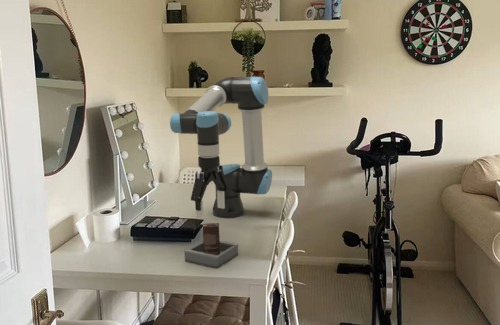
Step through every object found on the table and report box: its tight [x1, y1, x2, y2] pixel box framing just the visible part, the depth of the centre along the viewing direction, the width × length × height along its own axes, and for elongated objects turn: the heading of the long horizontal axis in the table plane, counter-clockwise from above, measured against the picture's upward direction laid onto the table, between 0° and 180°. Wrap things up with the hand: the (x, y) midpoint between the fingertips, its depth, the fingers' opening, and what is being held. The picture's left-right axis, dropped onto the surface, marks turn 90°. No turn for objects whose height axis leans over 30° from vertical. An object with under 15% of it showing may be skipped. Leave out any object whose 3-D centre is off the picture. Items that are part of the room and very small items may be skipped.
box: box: [202, 222, 221, 255], centre depth 182 cm, size 6×4×12 cm
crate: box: [183, 240, 239, 269], centre depth 183 cm, size 14×14×4 cm
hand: (210, 213), depth 180 cm, fingers open, 13 cm apart
